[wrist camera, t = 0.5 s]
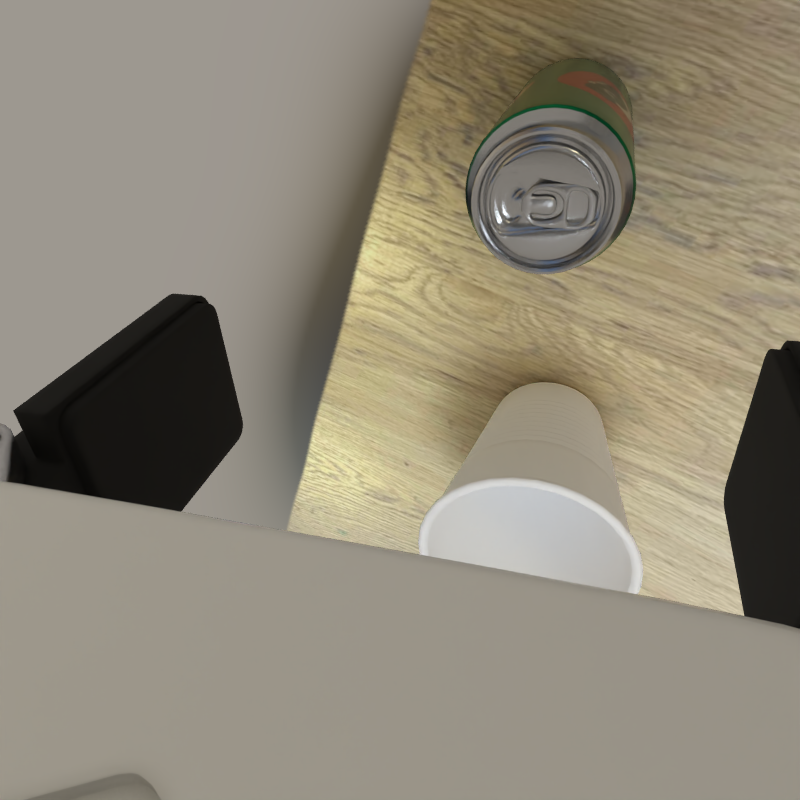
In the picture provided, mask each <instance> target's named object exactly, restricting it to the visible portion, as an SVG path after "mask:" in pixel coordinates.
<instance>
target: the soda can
mask: <svg viewBox="0 0 800 800" xmlns="http://www.w3.org/2000/svg"><path fill="white" fill-rule="evenodd" d="M635 191H636V174H635V155H634V137H633V118H632V105H631V101H630V97H629V94H628V92H627V89H626V87H625V85H624V84H623V82H622V81H621V79H620V78H619V77H618V76H617V75H616V74H615V73H614V72H613V71H612V70H611V69H609V68H608V67H606V66H605V65H603V64H601V63H598V62H596V61H592V60H589V59H580V58H575V59H566V60H562V61H558V62H556V63H553V64H551V65H549V66H547V67H546V68H544V69H542V70H541V71H539V72H538V73H537V74H536V75H535V76H534V77H532V78H531V80H530V81H529V82H528V83H527V84H526V85H525V87H524V88H523V89H522V90H521V92H520V93H519V94H518V96H517V97H516V98H515V100H514V101H513V102H512V103H511V105H510V106H509V107H508V109H507V110H506V111H505V112H504V114H503V115H502V116H501V118H500V119H499V120H498V122H497V123H496V124H495V125H494V127H493V128H492V129H491V131H490V132H489V133H488V134H487V136H486V137H485V138H484V140H483V141H482V143H481V144H480V146H479V147H478V149H477V151H476V152H475V155H474V157H473V159H472V162H471V164H470V167H469V171H468V175H467V181H466V204H467V209H468V214H469V217H470V220H471V222H472V225H473V227H474V229H475V231H476V233H477V234H478V236H479V238H480V239H481V240H482V242H483V243H484V244H485V246H486V247H487V248H488V250H489V251H490V252H491V253H492V254H493V255H494V256H496V257H497V258H498V259H499V260H501V261H502V262H504V263H505V264H507V265H509V266H511V267H513V268H515V269H517V270H521V271H524V272H528V273H534V274H553V273H560V272H563V271H567V270H570V269H572V268H576V267H578V266H581V265H583V264H585V263H587V262H589V261H591V260H592V259H594V258H596V257H597V256H599V255H600V254H601V253H602V252H604V251H605V250H606V249H607V248H608V247H609V246H610V245H611V244H612V243H613V242H614V241H615V240H616V238H617V237H618V236H619V235H620V233H621V231H622V230H623V228H624V227H625V225H626V223H627V221H628V218H629V216H630V214H631V211H632V207H633V204H634V200H635Z"/></svg>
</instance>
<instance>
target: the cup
mask: <svg viewBox="0 0 800 800" xmlns="http://www.w3.org/2000/svg"><path fill="white" fill-rule="evenodd" d="M418 544H419V551H420V555H425V556H431V557H437V558H442V559H448V560H453V561H459V562H465V563H470V564H475V565H481V566H486V567H492V568H497V569H503V570H508V571H513V572H519V573H524V574H530V575H535V576H541V577H546V578H551V579H557V580H562V581H568V582H573V583H579V584H584V585H589V586H595V587H600V588H606V589H611V590H617V591H622V592H627V593H633V594H638V593H639V590H640V588H641V585H642V577H643V564H642V558H641V553H640V551H639V549H638V546H637V544H636V542H635V540H634V538H633V536H632V535H631V533H630V530H629V526H628V522H627V518H626V514H625V510H624V506H623V502H622V498H621V496H620V491H619V488H618V483H617V479H616V476H615V471H614V467H613V464H612V459H611V455H610V451H609V448H608V443H607V439H606V434H605V430H604V426H603V422H602V418H601V416H600V414H599V412H598V410H597V408H596V407H595V406H594V404H593V403H592V402H591V401H590V400H589V399H588V398H587V397H586V396H585V395H583V394H582V393H580V392H578V391H577V390H575V389H573V388H570V387H568V386H565V385H562V384H557V383H549V382H539V383H531V384H528V385H524V386H521V387H519V388H517V389H515V390H513V391H512V392H510V393H509V394H508V395H507V396H505V397H504V399H503V400H502V401H501V402H500V404H499V405H498V407H497V408H496V410H495V412H494V413H493V415H492V416H491V418H490V420H489V422H488V423H487V425H486V427H485V428H484V430H483V432H482V433H481V434H480V437H479V438H478V439H477V441H476V443H475V444H474V446H473V448H472V449H471V451H470V453H469V454H468V456H467V458H466V459H465V461H464V463H463V464H462V465H461V467H460V469H459V470H458V471H457V473H456V475H455V476H454V478H453V479H452V481H451V483H450V484H449V486H448V488H447V489H446V491H445V492H444V494H443V496H442V497H441V498H439V499H438V500H437V501H436V502H435V503H434V504H433V505H432V507H431V508H430V509H429V510H428V511H427V513H426V515H425V517H424V519H423V521H422V524H421V526H420V532H419V539H418Z"/></svg>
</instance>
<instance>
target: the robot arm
mask: <svg viewBox="0 0 800 800" xmlns="http://www.w3.org/2000/svg"><path fill="white" fill-rule="evenodd" d="M14 413H15V415H16V417H17V419H18V421H19V423H20V426H21V428H22V430H23V431H21V432H20V433H19V434H18V435H16V436H15V437H14V435H13V433H12V431H11V429H9V428H8V427H7V426H6V425H4V424H0V800H800V342H798V341H786V342H785V343H784V344H783V346H782V348H781V350H777V349H770V350H769V351H768V352H767V354H766V356H765V359H764V362H763V365H762V369H761V372H760V375H759V378H758V382H757V385H756V388H755V391H754V395H753V398H752V401H751V404H750V408H749V411H748V414H747V418H746V421H745V424H744V427H743V431H742V434H741V437H740V440H739V444H738V447H737V450H736V453H735V457H734V460H733V463H732V467H731V470H730V473H729V476H728V480H727V483H726V487H725V493H724V509H725V514H726V519H727V525H728V530H729V535H730V541H731V546H732V552H733V557H734V562H735V568H736V573H737V578H738V584H739V589H740V594H741V600H742V605H743V610H744V616H741V615H736V614H732V613H727V612H722V611H718V610H713V609H708V608H704V607H699V606H694V605H689V604H685V603H680V602H675V601H671V600H665V599H660V598H655V597H649V596H644V595H638V594H633V593H627V592H622V591H617V590H611V589H606V588H600V587H595V586H589V585H584V584H579V583H573V582H568V581H562V580H557V579H551V578H546V577H541V576H535V575H530V574H524V573H519V572H513V571H508V570H503V569H497V568H492V567H486V566H481V565H475V564H470V563H465V562H459V561H453V560H448V559H442V558H437V557H431V556H425V555H420V554H414V553H409V552H403V551H397V550H392V549H386V548H381V547H375V546H369V545H364V544H358V543H353V542H347V541H341V540H336V539H330V538H325V537H319V536H314V535H308V534H302V533H297V532H291V531H286V530H279V529H274V528H268V527H263V526H258V525H252V524H246V523H241V522H235V521H230V520H224V519H218V518H213V517H207V516H202V515H196V514H191V513H185V512H181V511H182V510H183V509H184V507H185V506H186V505H187V503H188V502H189V501H190V500H191V498H192V497H193V496H194V495H195V493H196V492H197V491H198V490H199V488H200V487H201V486H202V485H203V483H204V482H205V481H206V480H207V478H208V477H209V476H210V474H211V473H212V472H213V471H214V470H215V468H216V467H217V466H218V465H219V463H220V462H221V461H222V459H223V458H224V457H225V456H226V455H227V453H228V452H229V451H230V449H231V448H232V447H233V446H234V445H235V443H236V442H237V441H238V439H239V437H240V436H241V433H242V428H243V421H242V416H241V412H240V408H239V404H238V400H237V396H236V391H235V387H234V383H233V379H232V375H231V371H230V366H229V362H228V358H227V354H226V350H225V345H224V341H223V337H222V333H221V329H220V325H219V320H218V316H217V313H216V310H215V308H214V307H213V306H212V305H211V304H209V303H208V302H207V300H206V299H205V298H204V297H202V296H196V295H184V294H183V295H182V294H171V295H169V296H168V297H166V298H165V299H163V300H162V301H161V302H159V303H158V304H157V305H155V306H154V307H152V308H151V309H150V310H149V311H147V312H146V313H144V314H143V315H142V316H140V317H139V318H138V319H136V320H135V321H134V322H132V323H131V324H130V325H128V326H127V327H126V328H124V329H123V330H121V331H120V332H119V333H117V334H116V335H115V336H113V337H112V338H111V339H109V340H108V341H107V342H105V343H104V344H102V345H101V346H100V347H98V348H97V349H96V350H94V351H93V352H92V353H90V354H89V355H88V356H86V357H85V358H84V359H82V360H81V361H80V362H78V363H77V364H76V365H74V366H73V367H71V368H70V369H69V370H67V371H66V372H65V373H63V374H62V375H61V376H59V377H58V378H57V379H55V380H54V381H53V382H51V383H50V384H49V385H47V386H46V387H45V388H43V389H42V390H40V391H39V392H38V393H36V394H35V395H34V396H32V397H31V398H30V399H28V400H27V401H26V402H24V403H23V404H22V405H20V406H19V407H17V408H16V409H15V410H14Z"/></svg>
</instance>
